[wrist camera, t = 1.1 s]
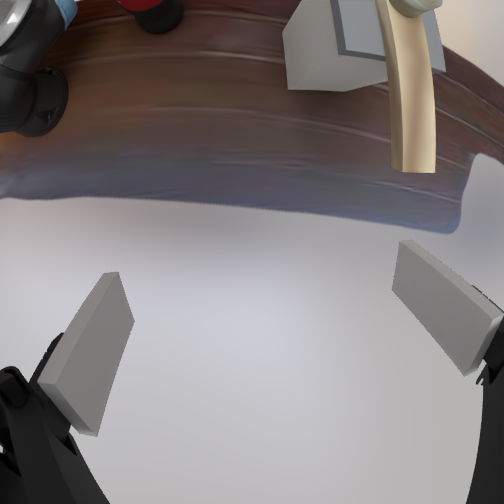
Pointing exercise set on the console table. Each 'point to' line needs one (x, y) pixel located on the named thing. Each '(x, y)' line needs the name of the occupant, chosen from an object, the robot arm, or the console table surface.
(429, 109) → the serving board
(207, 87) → the console table surface
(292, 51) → the grey-banded white block
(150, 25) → the cola bottle
